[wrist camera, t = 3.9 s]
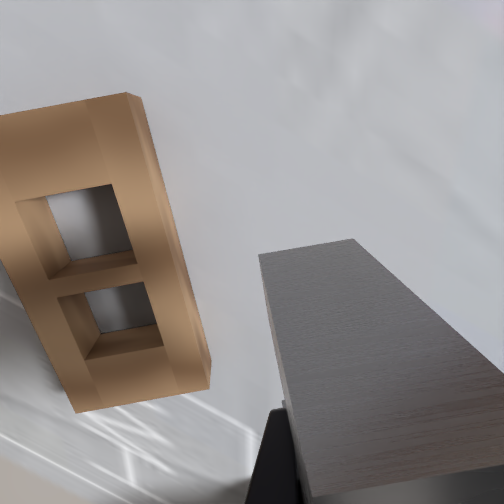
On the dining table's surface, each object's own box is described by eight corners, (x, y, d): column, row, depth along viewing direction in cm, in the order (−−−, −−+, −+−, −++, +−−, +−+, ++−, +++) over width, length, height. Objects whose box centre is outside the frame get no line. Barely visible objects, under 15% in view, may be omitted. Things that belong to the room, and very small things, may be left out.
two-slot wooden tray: (211, 360, 22) (209, 388, 19) (92, 382, 22) (75, 413, 19) (141, 97, 16) (125, 92, 14) (-21, 127, 16) (-65, 127, 14)
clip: (362, 433, 11) (498, 747, 5) (289, 445, 11) (349, 773, 5) (353, 238, 9) (588, 449, 3) (258, 254, 9) (312, 496, 3)
